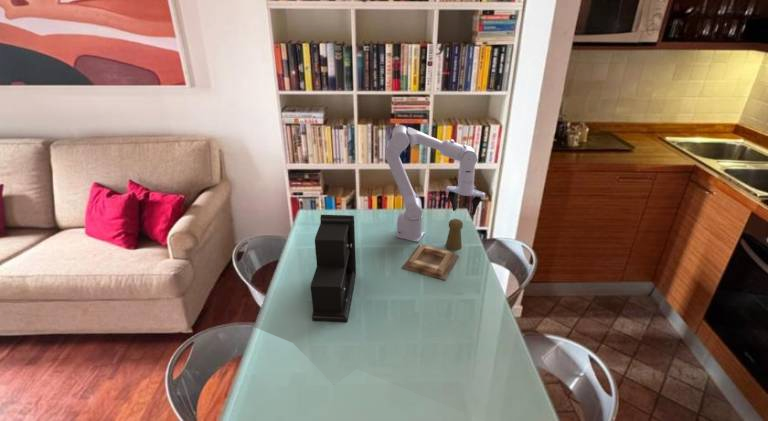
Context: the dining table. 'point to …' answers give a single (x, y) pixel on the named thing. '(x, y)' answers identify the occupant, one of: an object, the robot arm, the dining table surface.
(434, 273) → the socket block
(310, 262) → the dining table surface
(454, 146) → the robot arm
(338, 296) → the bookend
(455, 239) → the cork
